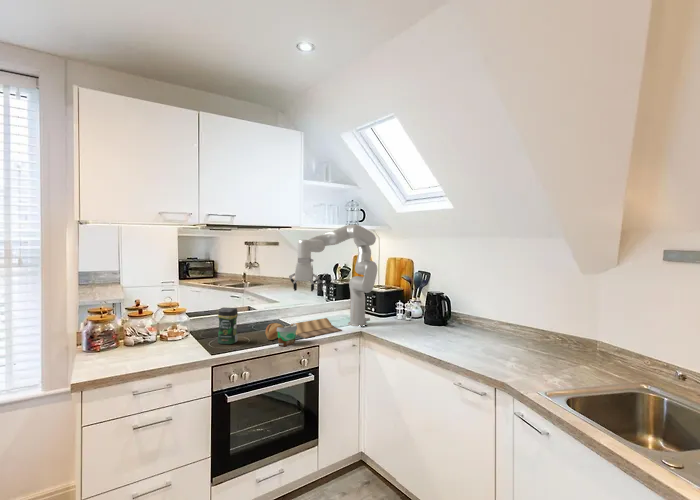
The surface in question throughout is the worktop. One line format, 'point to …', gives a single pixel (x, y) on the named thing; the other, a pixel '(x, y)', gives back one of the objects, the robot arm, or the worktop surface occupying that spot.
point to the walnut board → (319, 332)
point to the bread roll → (272, 331)
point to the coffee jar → (227, 325)
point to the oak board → (313, 325)
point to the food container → (286, 335)
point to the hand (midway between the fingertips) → (303, 290)
